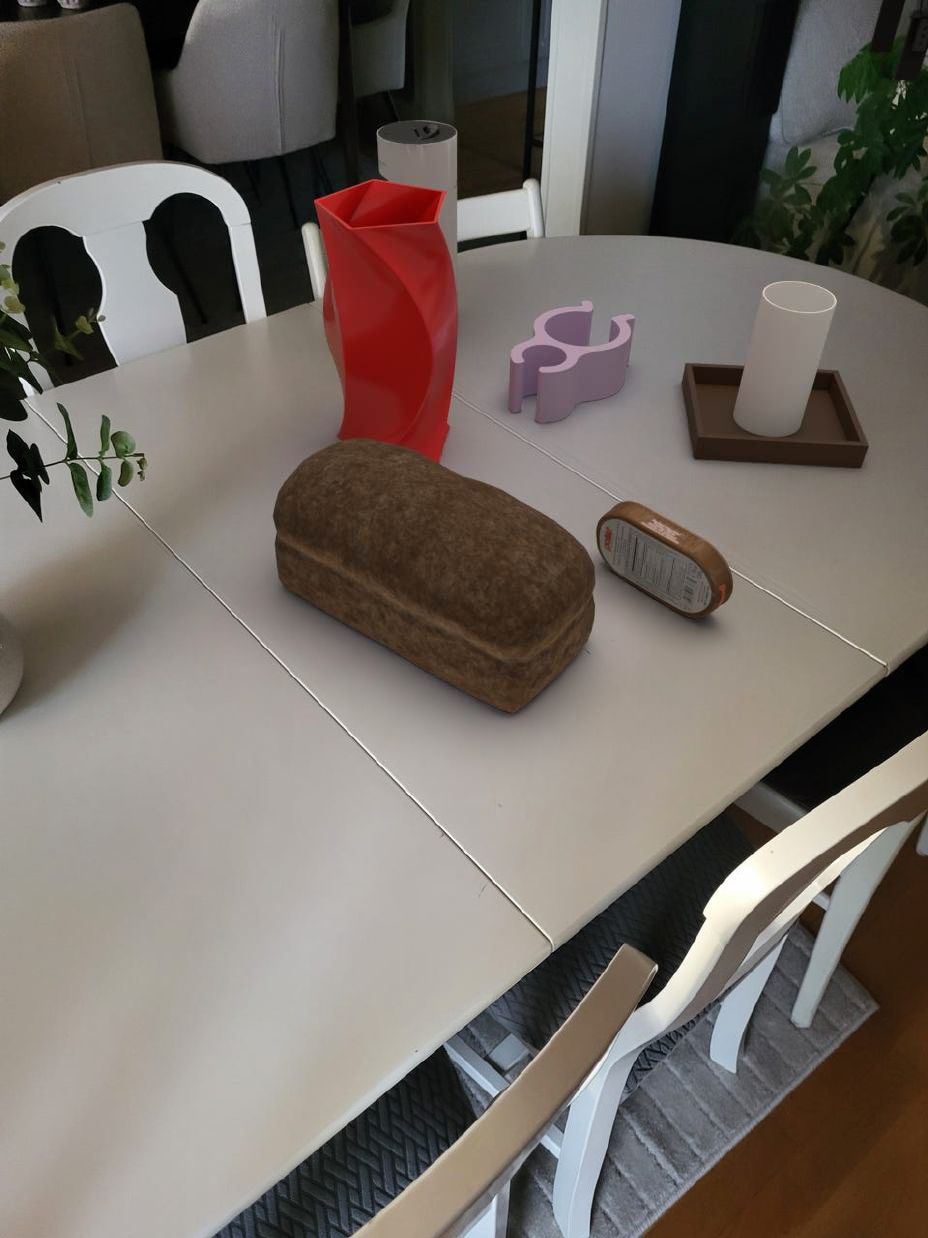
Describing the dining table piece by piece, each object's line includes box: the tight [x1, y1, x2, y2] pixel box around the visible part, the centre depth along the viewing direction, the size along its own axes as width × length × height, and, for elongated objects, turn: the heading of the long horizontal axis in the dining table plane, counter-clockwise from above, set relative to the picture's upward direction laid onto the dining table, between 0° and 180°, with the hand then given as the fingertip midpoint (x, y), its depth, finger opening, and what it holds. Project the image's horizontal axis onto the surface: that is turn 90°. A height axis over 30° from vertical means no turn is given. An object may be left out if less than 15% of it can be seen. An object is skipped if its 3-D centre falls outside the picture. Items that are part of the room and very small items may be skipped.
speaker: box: [376, 119, 459, 307], centre depth 128 cm, size 11×10×26 cm
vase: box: [313, 178, 459, 464], centre depth 104 cm, size 15×14×28 cm
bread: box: [272, 438, 596, 714], centre depth 87 cm, size 15×32×16 cm, turn 53°
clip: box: [507, 300, 636, 424], centre depth 122 cm, size 20×12×7 cm, turn 144°
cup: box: [733, 280, 838, 437], centre depth 112 cm, size 8×8×16 cm
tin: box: [595, 500, 734, 619], centre depth 92 cm, size 15×3×8 cm, turn 44°
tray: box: [681, 362, 870, 469], centre depth 117 cm, size 20×18×3 cm
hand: (891, 65), depth 121 cm, fingers open, 13 cm apart
